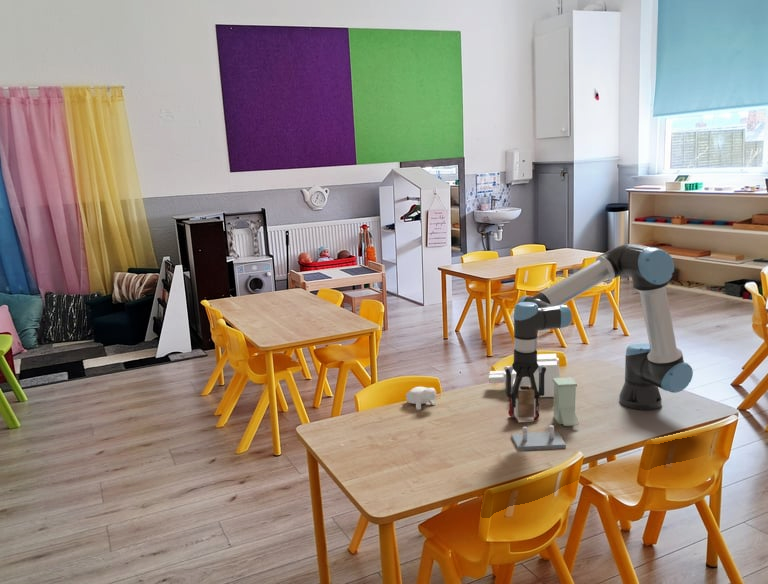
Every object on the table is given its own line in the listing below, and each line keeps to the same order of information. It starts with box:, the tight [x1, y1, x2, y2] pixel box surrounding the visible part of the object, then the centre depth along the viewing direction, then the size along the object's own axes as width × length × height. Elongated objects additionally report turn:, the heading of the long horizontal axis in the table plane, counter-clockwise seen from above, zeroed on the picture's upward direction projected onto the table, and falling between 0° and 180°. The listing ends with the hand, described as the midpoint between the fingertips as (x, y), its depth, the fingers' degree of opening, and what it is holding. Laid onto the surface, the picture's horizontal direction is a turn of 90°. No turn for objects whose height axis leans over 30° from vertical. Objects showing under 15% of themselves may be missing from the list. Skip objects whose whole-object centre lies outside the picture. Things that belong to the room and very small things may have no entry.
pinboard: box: [510, 425, 567, 451], centre depth 219 cm, size 16×10×6 cm, turn 92°
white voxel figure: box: [488, 353, 561, 398], centre depth 264 cm, size 15×25×28 cm
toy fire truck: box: [507, 397, 540, 424], centre depth 238 cm, size 7×12×10 cm, turn 109°
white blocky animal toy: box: [405, 386, 437, 411], centre depth 254 cm, size 9×8×15 cm
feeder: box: [553, 376, 579, 427], centre depth 233 cm, size 7×12×15 cm, turn 2°
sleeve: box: [516, 385, 535, 423], centre depth 217 cm, size 5×5×11 cm
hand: (524, 415), depth 218 cm, fingers closed on sleeve, 5 cm apart
